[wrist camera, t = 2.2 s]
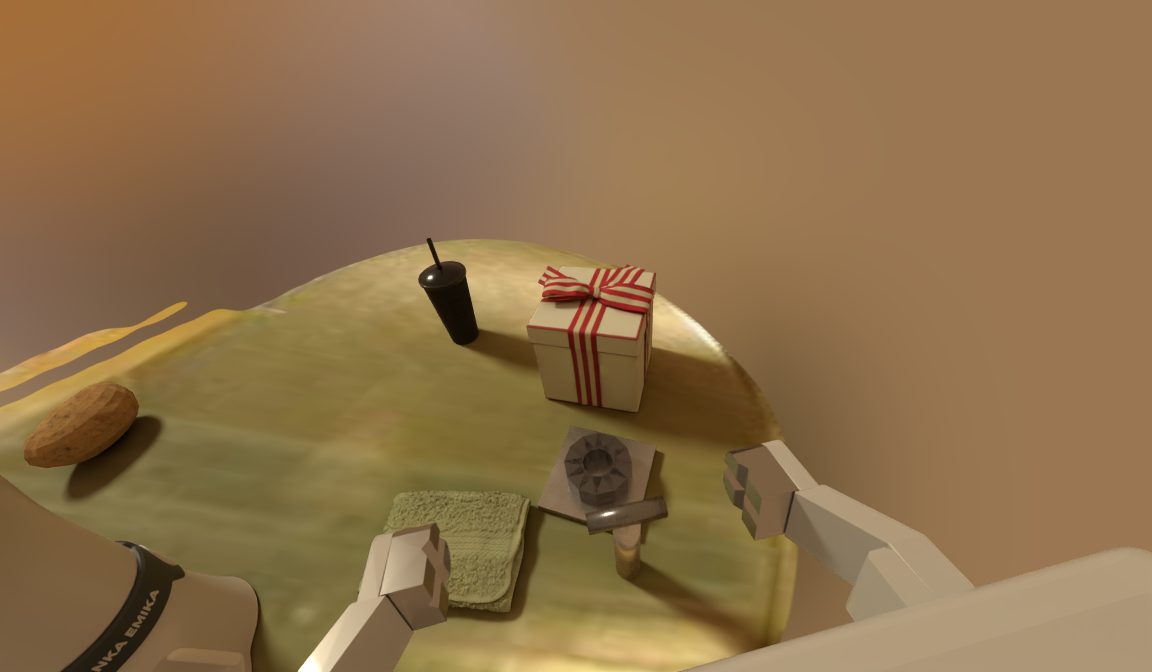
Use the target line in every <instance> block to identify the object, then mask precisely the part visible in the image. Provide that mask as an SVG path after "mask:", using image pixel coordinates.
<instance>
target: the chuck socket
mask: <svg viewBox="0 0 1152 672" xmlns="http://www.w3.org/2000/svg"><path fill="white" fill-rule="evenodd" d="M655 452H656V446H655V445H651V444H646V443H642V442H638V441H634V440H630V439H626V438H621V437H617V436H613V435H609V434H605V433H601V432H596V431H592V430H588V429H584V428H580V427H575V426H571V427H570V429H569V431H568V434H567V436H566V439H565V441H564V443H563V446H562V448H561V450H560V453H559V455H558V458H557V460H556V462H555V465H554V467H553V470H552V472H551V474H550V477H549V479H548V481H547V484H546V486H545V489H544V491H543V493H542V496H541V498H540V500H539V503H538V505H537V506H538V509H540V510H543V511H546V512H549V513H552V514H556V515H559V516H562V517H565V518H568V519H571V520H575V521H578V522H581V523H584V524H587V521H586V516H585V513H588V512H593V511H597V510H602V509H606V508H610V507H615V506H619V505H623V504H628V503H632V502H636V501H641V500H644V498H645V494H646V489H647V485H648V481H649V477H650V473H651V469H652V464H653V460H654V456H655ZM610 532H613V530H610Z"/></svg>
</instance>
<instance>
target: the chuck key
mask: <svg viewBox="0 0 1152 672" xmlns="http://www.w3.org/2000/svg"><path fill="white" fill-rule="evenodd" d="M585 516H586V521H587V526H588V531H589V535H593V534H597V533H602V532H606V531H610V530H613V540H614V550H615V560H616V569H617V572H618V574H619V575H620V576H621V577H622V578H623V579H626V580H632V579H634V578H636V577H637V576H638V574H639V572H640V541H641V523H644V522H649V521H653V520H657V519H662V518H666V517H668V513H667V508H666V504H665V501H664V499H663V497H662V496H658V497H654V498H649V499H645V500H641V501H636V502H632V503H628V504H623V505H619V506H615V507H610V508H606V509H602V510H597V511H593V512H588V513H585Z"/></svg>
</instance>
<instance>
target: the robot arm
mask: <svg viewBox="0 0 1152 672" xmlns="http://www.w3.org/2000/svg"><path fill="white" fill-rule="evenodd" d="M725 462H726V464H727V465H728V467H727V468H726V469H725V471H724V478H723V480H724V484H725V489H726V491H727V494H728V496H729V498H730V500H731V501H732V503H733V505H735V506H736V507H738V508H740V509H741V510H743V512H742V520H743V522H744V524H745V525H746V527H747V529H748V531H749V532H750V534H751V536H752V537H753V539H754V541H756V540H760V539H765V538H769V537H773V536H778V535H782V534H785V535H784V536H786V537H787V538H788V539H790V540H791V541H792V542H794V543H795V544H797V545H798V546H799V547H801V548H802V549H803V550H805V551H806V552H807V553H809V554H810V555H812V556H813V557H814V558H816V559H817V560H818V561H820V562H821V563H823V564H824V565H825V566H827V567H828V568H829V569H831V570H832V571H833V572H835V573H836V574H838V575H839V576H840V577H842V578H843V579H845V580H846V581H847V582H849V583H850V584H851V585H853V586H854V587H853V589H852V592H851V594H850V596H849V598H848V601H847V604H846V609H847V611H848V612H849V613H850V615H851V616H852V618H853V620H854V621H855V622H852V623H849V624H845V625H841V626H838V627H834V628H831V629H828V630H824V631H820V632H817V633H814V634H810V635H807V636H803V637H799V638H796V639H792V640H789V641H785V642H782V643H778V644H774V645H771V646H767V647H764V648H760V649H757V650H753V651H750V652H746V653H743V654H739V655H736V656H732V657H729V658H725V659H722V660H718V661H714V662H711V663H707V664H704V665H700V666H697V667H693V668H690V669H686V670H683V671H679V672H1152V552H1149V551H1146V550H1143V549H1139V548H1134V547H1119V548H1114V549H1109V550H1105V551H1102V552H1099V553H1095V554H1092V555H1088V556H1085V557H1082V558H1078V559H1075V560H1072V561H1068V562H1064V563H1061V564H1057V565H1053V566H1050V567H1047V568H1043V569H1040V570H1036V571H1032V572H1029V573H1025V574H1021V575H1018V576H1015V577H1011V578H1007V579H1004V580H1000V581H997V582H993V583H990V584H986V585H983V586H980V587H974V586H973V585H972V584H971V583H970V582H969V581H968V580H967V579H966V578H965V576H963V574H962V573H961V572H960V571H959V570H958V569H957V568H956V567H955V566H954V565H953V564H952V563H951V562H950V561H949V560H948V559H947V558H946V557H945V556H944V555H943V554H942V553H941V552H940V551H939V550H938V549H937V547H936V546H935V545H934V544H933V543H932V542H930V540H929V539H928V538H927V537H926V536H925V535H923V534H921V533H919V532H917V531H915V530H913V529H911V528H909V527H907V526H905V525H903V524H901V523H899V522H897V521H895V520H893V519H892V518H890V517H888V516H885V515H883V514H881V513H880V512H878V511H876V510H874V509H872V508H870V507H868V506H866V505H864V504H862V503H860V502H858V501H856V500H854V499H852V498H850V497H847V496H846V495H844V494H842V493H840V492H838V491H836V490H834V489H832V488H830V487H828V486H826V485H818V484H817V483H816V481H815V480H814V479H813V478H812V477H811V475H810V474H809V473H808V472H807V471H806V469H805V468H804V467H803V466H802V465H801V464H800V463H799V461H798V460H797V459H796V458H795V456H794V455H793V454H792V453H791V451H790V450H789V449H788V448H787V447H786V445H785V444H784V443H783V442H782V441H780V440H774V441H770V442H766V443H762V444H756V445H752V446H748V447H744V448H740V449H736V450H733V451H729V452H727V453H726V455H725ZM439 535H440V529H439V527H438V526H437V524H436V523H433V524H428V525H423V526H419V527H414V528H410V529H405V530H400V531H395V532H391V533H387V534H383V535H379V536H376V537H375V539H374V540H373V542H372V544H371V548H370V552H369V556H368V560H367V564H366V568H365V572H364V575H363V579H362V583H361V587H360V591H359V595H358V599H357V602H356V603H352V604H350V605H349V607H348V608H347V609H346V610H345V612H344V613H343V614H342V616H341V617H340V618H339V619H338V621H337V622H336V623H335V625H334V626H333V627H332V628H331V630H330V631H329V632H328V634H327V635H326V636H325V637H324V639H323V640H322V641H321V643H320V644H319V645H318V646H317V648H316V649H315V650H314V651H313V653H312V654H311V655H310V657H309V658H308V659H307V660H306V662H305V663H304V664H303V666H302V667H301V668H300V669H299V671H298V672H393V670H394V668H395V666H396V664H397V663H398V661H399V659H400V657H401V655H402V653H403V651H404V650H405V648H406V646H407V644H408V642H409V640H410V639H411V637H412V635H413V631H414V630H418V629H421V628H424V627H428V626H431V625H435V624H438V623H442V622H445V621H447V610H448V598H449V593H448V591H447V590H446V588H445V586H444V585H445V583H446V582H447V580H448V579H449V577H450V572H451V560H450V551H449V548H448V545H447V543H446V541H445V539H442V538H440V537H439ZM257 619H258V602H257V598H256V594H255V592H254V590H253V588H252V587H251V586H250V585H249V584H248V583H247V582H246V581H244V580H243V579H240V578H237V577H233V576H212V575H205V574H200V573H196V572H192V571H188V570H184V569H182V568H181V567H180V566H179V565H177V563H176V562H175V561H173V560H171V559H170V558H168V557H166V556H164V555H162V554H160V553H158V552H156V551H154V550H151V549H149V548H147V547H145V546H142V545H139V546H138V545H136V544H133V543H130V542H127V541H113V540H110V539H108V538H106V537H104V536H102V535H100V534H98V533H96V532H93V531H91V530H89V529H87V528H85V527H83V526H81V525H78V524H76V523H74V522H72V521H70V520H68V519H66V518H64V517H61V516H59V515H57V514H55V513H53V512H51V511H50V510H48V509H46V508H44V507H43V506H41V505H39V504H38V503H36V502H35V501H33V500H32V499H31V498H29V497H28V496H27V495H25V494H24V493H23V492H21V491H20V490H19V489H18V488H17V487H15V486H14V485H13V484H11V483H10V482H9V481H8V480H6V479H5V478H4V477H2V476H1V475H0V672H252V665H251V657H250V649H251V644H252V640H253V636H254V633H255V629H256V625H257Z"/></svg>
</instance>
